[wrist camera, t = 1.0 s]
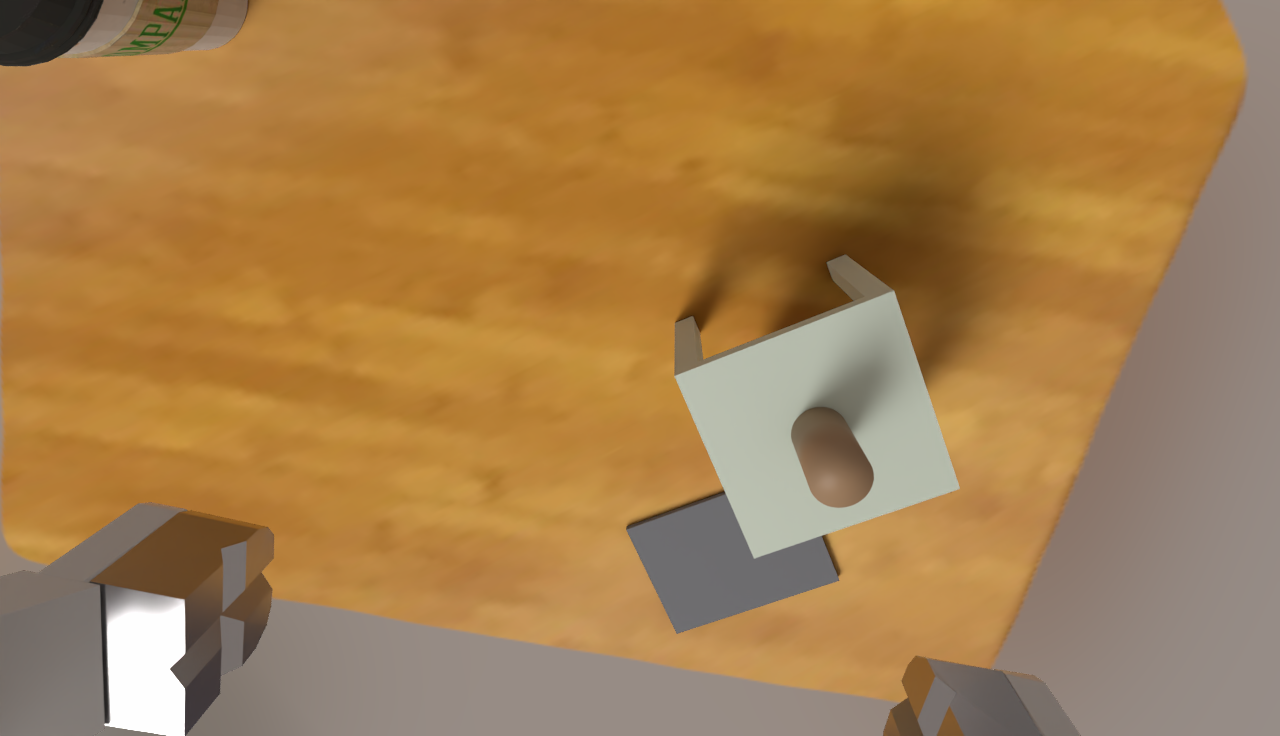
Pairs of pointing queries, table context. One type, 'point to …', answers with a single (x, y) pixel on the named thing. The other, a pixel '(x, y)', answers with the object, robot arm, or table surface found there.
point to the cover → (818, 418)
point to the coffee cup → (113, 28)
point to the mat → (720, 564)
